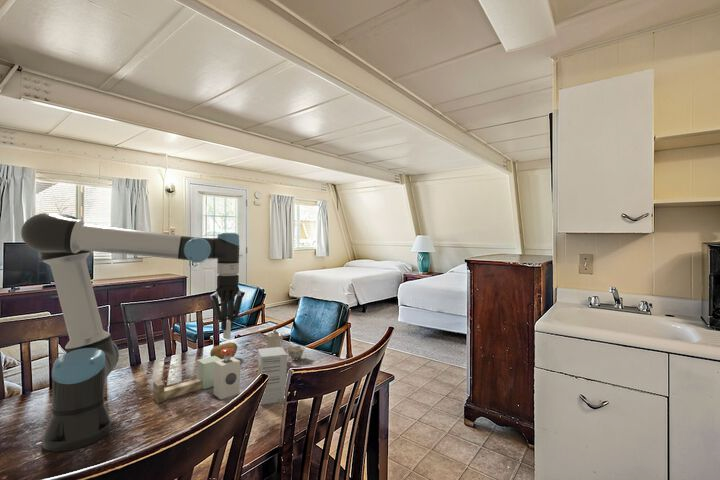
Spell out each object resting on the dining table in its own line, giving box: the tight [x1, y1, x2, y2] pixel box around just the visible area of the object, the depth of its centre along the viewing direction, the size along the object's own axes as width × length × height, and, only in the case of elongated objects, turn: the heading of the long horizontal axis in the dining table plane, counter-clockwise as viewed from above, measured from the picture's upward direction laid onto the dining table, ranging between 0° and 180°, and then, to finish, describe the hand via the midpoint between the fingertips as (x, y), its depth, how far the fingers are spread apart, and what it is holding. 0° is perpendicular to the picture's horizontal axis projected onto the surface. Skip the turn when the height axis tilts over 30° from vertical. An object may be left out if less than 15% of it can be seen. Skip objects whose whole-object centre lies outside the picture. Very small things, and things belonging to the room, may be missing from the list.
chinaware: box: [265, 328, 306, 361], centre depth 156 cm, size 28×17×17 cm, turn 168°
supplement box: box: [257, 346, 288, 406], centre depth 124 cm, size 10×9×17 cm
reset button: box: [221, 348, 234, 363], centre depth 126 cm, size 4×4×4 cm
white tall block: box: [213, 357, 241, 400], centre depth 126 cm, size 7×6×12 cm
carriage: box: [196, 356, 222, 390], centre depth 133 cm, size 7×6×10 cm
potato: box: [209, 341, 238, 359], centre depth 159 cm, size 10×14×8 cm
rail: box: [152, 378, 203, 404], centre depth 129 cm, size 26×5×6 cm, turn 137°
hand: (226, 338), depth 126 cm, fingers closed
